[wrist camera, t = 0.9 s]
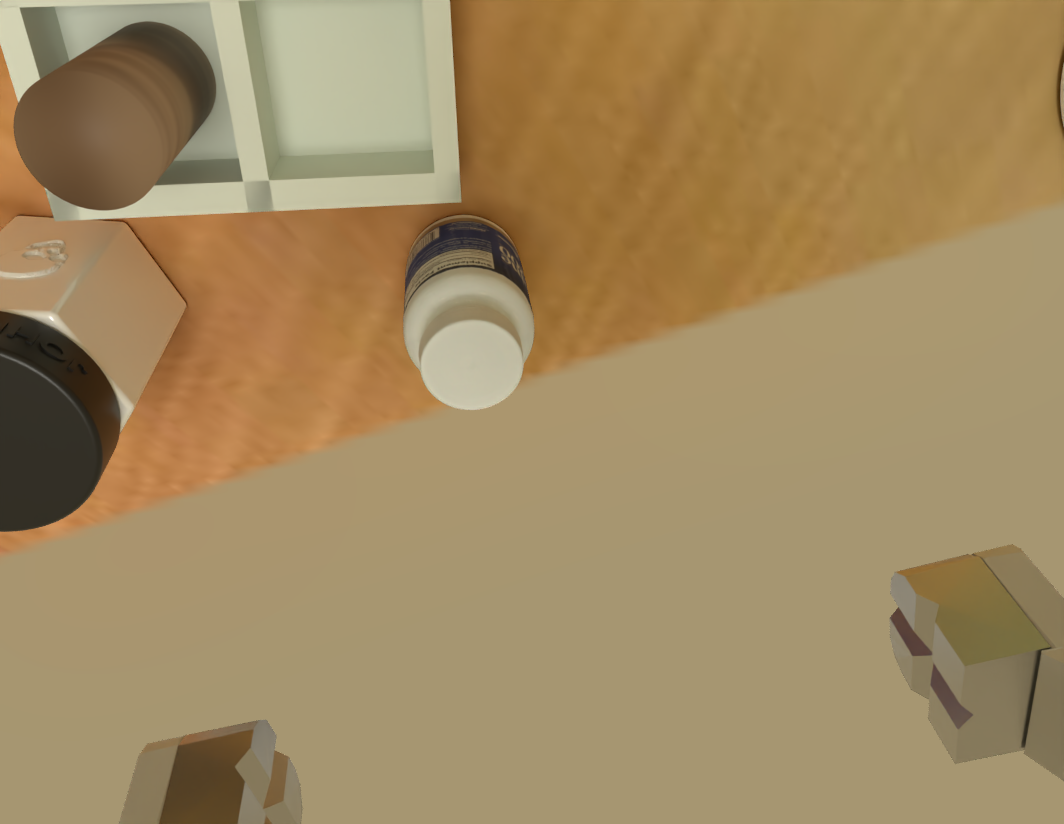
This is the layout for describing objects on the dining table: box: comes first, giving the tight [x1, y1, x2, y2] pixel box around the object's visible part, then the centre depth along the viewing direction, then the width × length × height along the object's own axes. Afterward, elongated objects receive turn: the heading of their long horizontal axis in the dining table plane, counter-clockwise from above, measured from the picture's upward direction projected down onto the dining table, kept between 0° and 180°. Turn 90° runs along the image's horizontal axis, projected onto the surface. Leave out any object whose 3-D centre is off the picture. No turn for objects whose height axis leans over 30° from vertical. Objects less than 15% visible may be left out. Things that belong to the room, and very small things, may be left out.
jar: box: [0, 216, 186, 532], centre depth 37 cm, size 9×8×12 cm
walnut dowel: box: [14, 21, 216, 211], centre depth 33 cm, size 4×4×9 cm
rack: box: [0, 0, 461, 221], centre depth 36 cm, size 16×9×4 cm, turn 91°
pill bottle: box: [403, 215, 534, 410], centre depth 39 cm, size 5×5×10 cm
